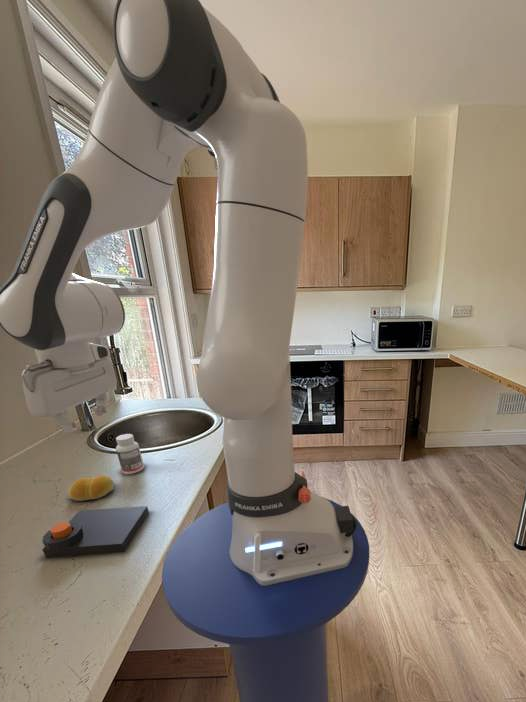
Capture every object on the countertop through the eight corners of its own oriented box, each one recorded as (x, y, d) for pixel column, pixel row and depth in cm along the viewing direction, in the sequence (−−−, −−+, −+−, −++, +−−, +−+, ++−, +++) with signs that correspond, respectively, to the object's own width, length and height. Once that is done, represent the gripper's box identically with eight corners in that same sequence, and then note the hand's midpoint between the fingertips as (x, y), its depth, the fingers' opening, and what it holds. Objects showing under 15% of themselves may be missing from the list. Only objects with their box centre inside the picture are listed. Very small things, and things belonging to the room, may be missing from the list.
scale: (149, 513, 76) (145, 499, 74) (123, 553, 64) (118, 538, 63) (80, 517, 75) (75, 504, 73) (41, 559, 63) (34, 544, 62)
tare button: (75, 528, 66) (73, 521, 66) (66, 538, 64) (63, 531, 63) (59, 529, 66) (56, 522, 66) (49, 539, 63) (46, 532, 63)
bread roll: (111, 497, 82) (106, 483, 80) (67, 505, 79) (61, 490, 78) (118, 480, 89) (114, 466, 87) (77, 487, 86) (73, 473, 85)
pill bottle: (124, 467, 96) (115, 434, 92) (145, 463, 97) (137, 431, 94) (120, 476, 91) (110, 442, 87) (143, 472, 93) (134, 439, 89)
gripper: (37, 366, 57) (63, 443, 62) (113, 346, 76) (129, 406, 81) (1, 367, 58) (30, 443, 63) (86, 347, 76) (103, 407, 82)
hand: (87, 422), depth 72 cm, fingers open, 8 cm apart
